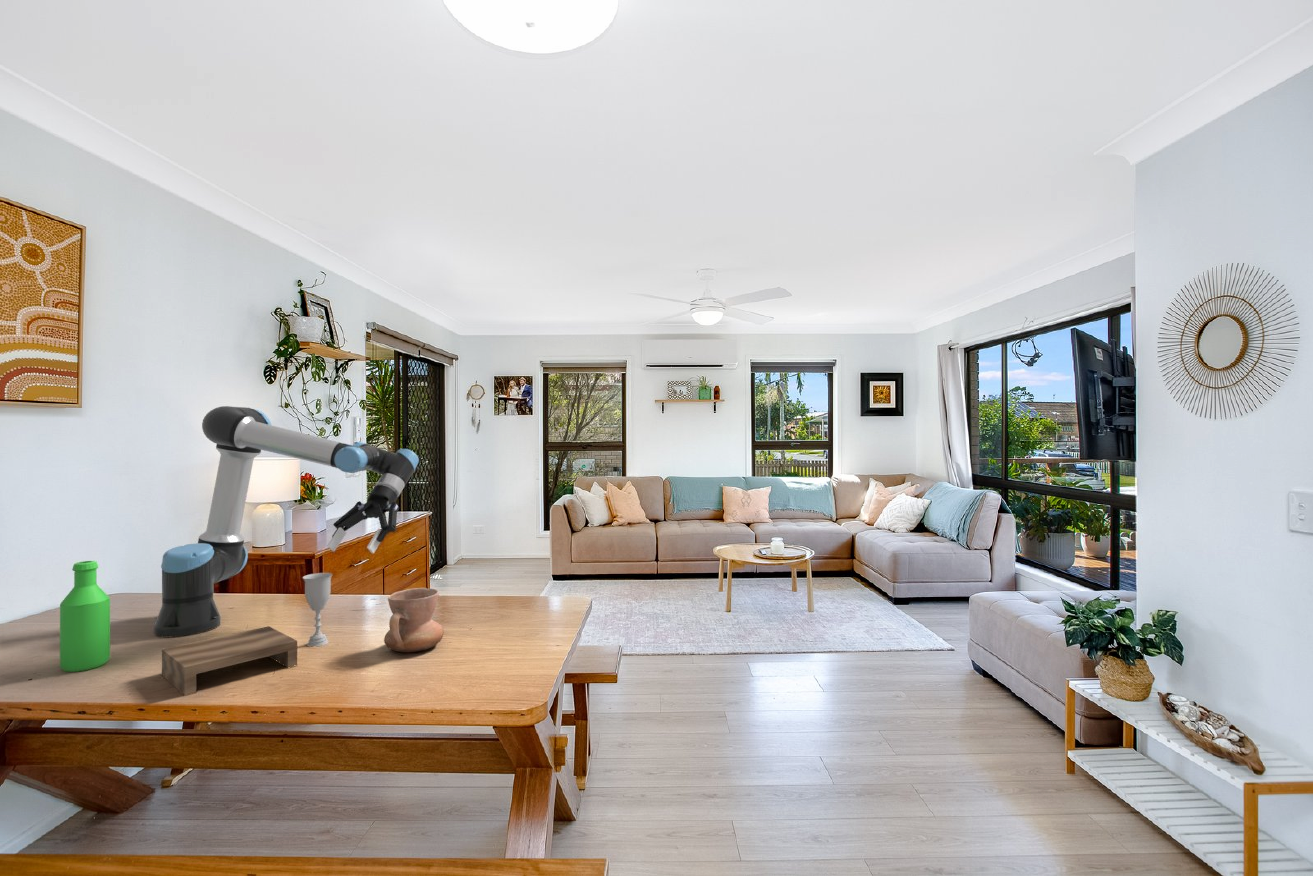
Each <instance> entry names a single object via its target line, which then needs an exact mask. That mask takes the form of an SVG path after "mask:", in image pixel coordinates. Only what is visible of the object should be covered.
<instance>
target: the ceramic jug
mask: <svg viewBox="0 0 1313 876" xmlns="http://www.w3.org/2000/svg"><path fill="white" fill-rule="evenodd" d="M438 599H439V590H438V589H435V588H426V587H418V588H417V587H416V588H408V589H405V590H399V591H395V592H393V593H392V594H389V596H387V601H388V606H389V608H390V612H391V614H392V615H391V616H390V618H389V621H388V624H389V629H388V631H387V632H386V633H385V635H384V637H383V642H384V645H385V646H386V647H387V648H388V649H390V650H392V651H395V652H400V653H416V652H421V651H425V650H428V649H430V648H433V647H434V646H436V645H438V643H440V642H441V641H442V639H443V636H444V633H445V631H444V628H443V626H442V625H441V624H440V623H439V622H436V621H435V620H433V619H432V617H433V615H434V612H435V610H436V607H437V604H438Z"/></svg>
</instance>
